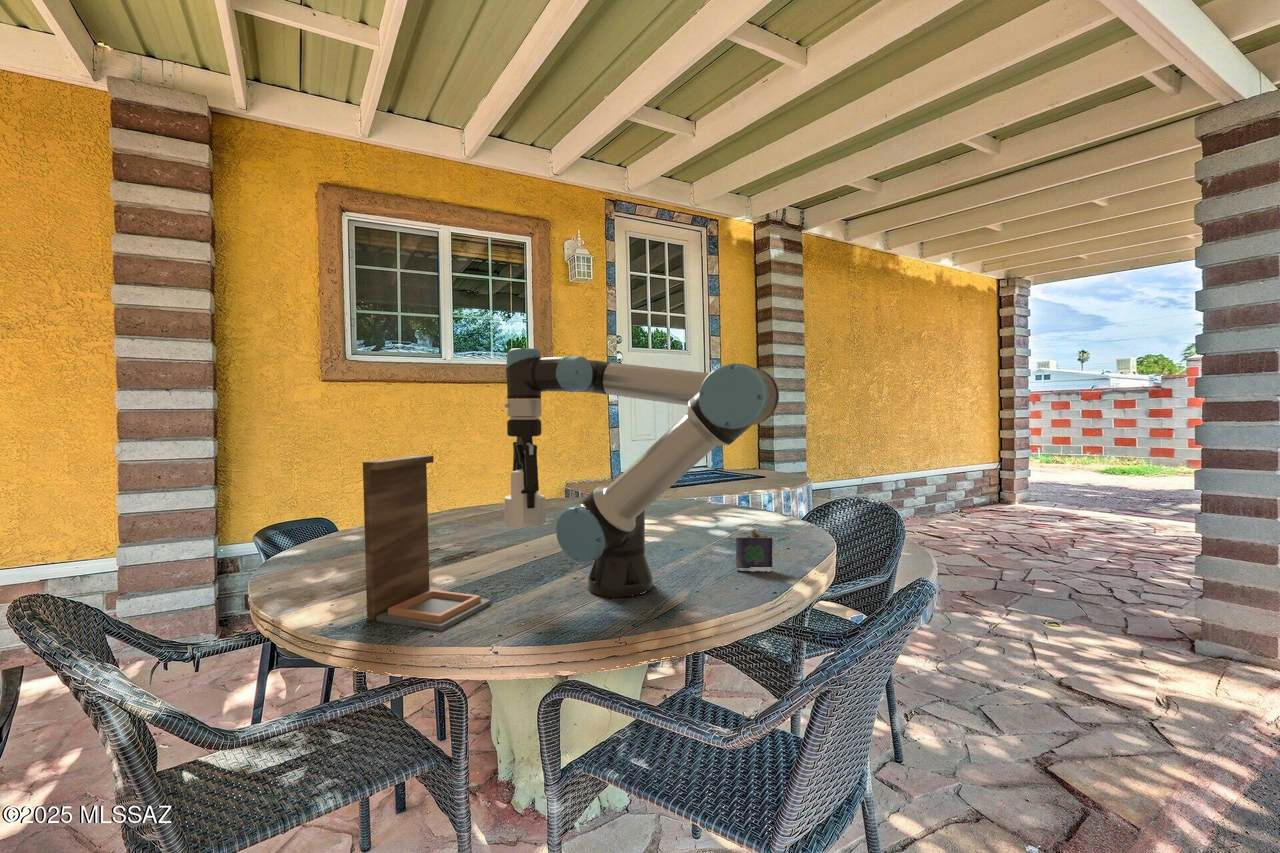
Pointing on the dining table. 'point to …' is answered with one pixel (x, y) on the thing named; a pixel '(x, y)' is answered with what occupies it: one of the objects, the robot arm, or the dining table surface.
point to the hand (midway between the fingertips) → (525, 518)
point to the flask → (753, 550)
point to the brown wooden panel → (395, 531)
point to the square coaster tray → (434, 609)
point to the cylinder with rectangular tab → (521, 504)
